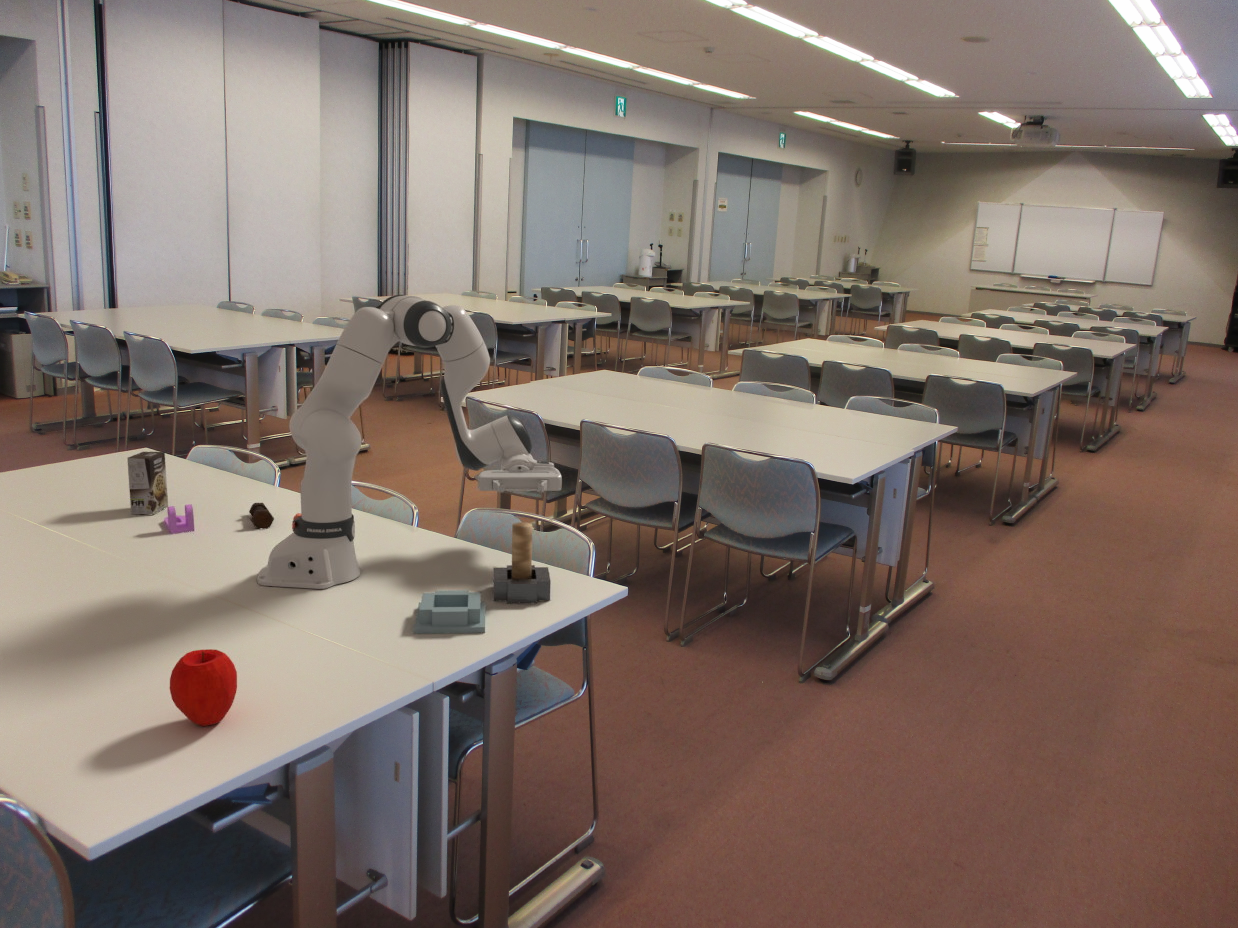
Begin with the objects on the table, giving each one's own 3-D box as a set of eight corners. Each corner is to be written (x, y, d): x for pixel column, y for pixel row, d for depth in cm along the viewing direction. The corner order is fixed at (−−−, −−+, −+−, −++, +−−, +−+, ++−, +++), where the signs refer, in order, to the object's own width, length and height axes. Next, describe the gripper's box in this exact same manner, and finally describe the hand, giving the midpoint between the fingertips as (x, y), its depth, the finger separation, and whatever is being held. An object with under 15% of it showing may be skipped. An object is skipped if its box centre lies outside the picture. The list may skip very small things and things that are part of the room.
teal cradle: (413, 633, 188) (413, 613, 187) (419, 607, 201) (418, 589, 200) (484, 632, 190) (485, 612, 189) (485, 606, 203) (485, 588, 202)
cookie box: (153, 515, 259) (149, 458, 256) (130, 514, 259) (125, 457, 256) (169, 506, 268) (165, 451, 265) (147, 505, 268) (142, 450, 265)
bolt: (260, 520, 265) (266, 533, 252) (243, 512, 263) (248, 525, 250) (270, 502, 266) (277, 514, 253) (253, 494, 263) (259, 506, 250)
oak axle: (511, 596, 210) (512, 527, 206) (511, 589, 214) (512, 522, 210) (531, 596, 210) (532, 527, 207) (530, 589, 215) (531, 522, 211)
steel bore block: (493, 603, 205) (493, 584, 204) (493, 583, 217) (493, 565, 216) (550, 602, 207) (551, 583, 206) (547, 583, 219) (547, 565, 218)
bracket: (194, 531, 247) (192, 506, 246) (171, 534, 244) (169, 508, 243) (185, 519, 258) (183, 494, 256) (162, 521, 255) (161, 496, 253)
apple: (157, 728, 148) (152, 656, 145) (205, 702, 157) (201, 633, 154) (207, 742, 145) (202, 668, 142) (253, 714, 154) (249, 644, 151)
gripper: (477, 462, 233) (476, 476, 220) (559, 462, 236) (563, 476, 223) (477, 487, 235) (476, 502, 222) (559, 486, 238) (563, 501, 224)
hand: (520, 489), depth 222 cm, fingers open, 8 cm apart
